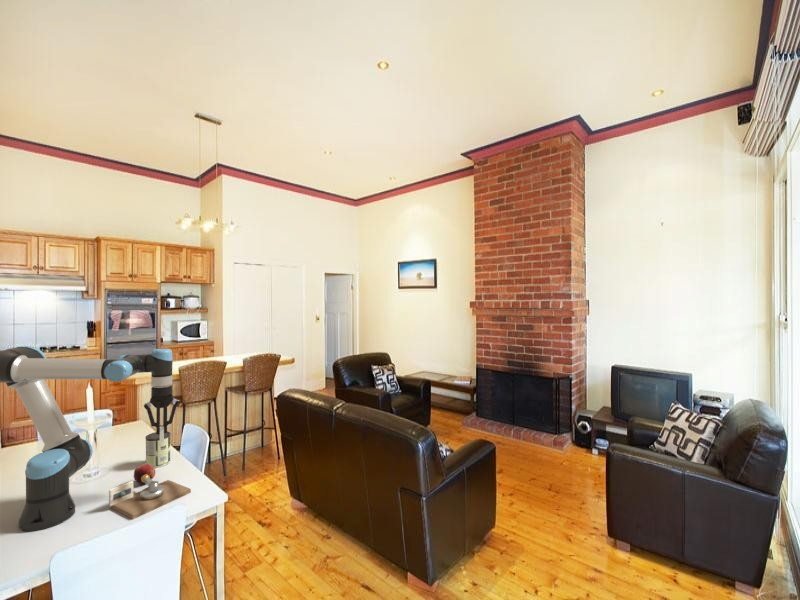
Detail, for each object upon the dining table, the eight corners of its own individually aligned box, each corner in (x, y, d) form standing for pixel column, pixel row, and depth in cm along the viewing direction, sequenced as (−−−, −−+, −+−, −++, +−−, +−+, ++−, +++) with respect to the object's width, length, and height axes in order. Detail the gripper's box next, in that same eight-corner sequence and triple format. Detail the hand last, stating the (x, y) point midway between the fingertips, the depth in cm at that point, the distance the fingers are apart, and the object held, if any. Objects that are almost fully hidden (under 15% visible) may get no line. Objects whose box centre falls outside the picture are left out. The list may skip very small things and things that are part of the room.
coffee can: (155, 458, 192) (156, 430, 192) (175, 459, 191) (175, 431, 191) (140, 467, 181) (140, 438, 181) (160, 468, 180) (160, 439, 180)
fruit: (156, 477, 172) (156, 460, 172) (152, 485, 164) (152, 467, 164) (136, 480, 169) (136, 462, 169) (131, 488, 162) (131, 470, 162)
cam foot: (166, 494, 154) (167, 481, 154) (143, 502, 148) (143, 488, 148) (155, 482, 164) (155, 470, 164) (133, 489, 158) (133, 476, 158)
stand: (130, 520, 139) (130, 500, 139) (107, 508, 146) (107, 489, 146) (190, 492, 159) (190, 474, 159) (168, 483, 167) (168, 466, 167)
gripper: (179, 382, 168) (179, 435, 168) (143, 385, 161) (143, 441, 161) (180, 385, 161) (179, 441, 161) (142, 389, 154) (142, 447, 155)
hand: (161, 441), depth 161 cm, fingers closed
